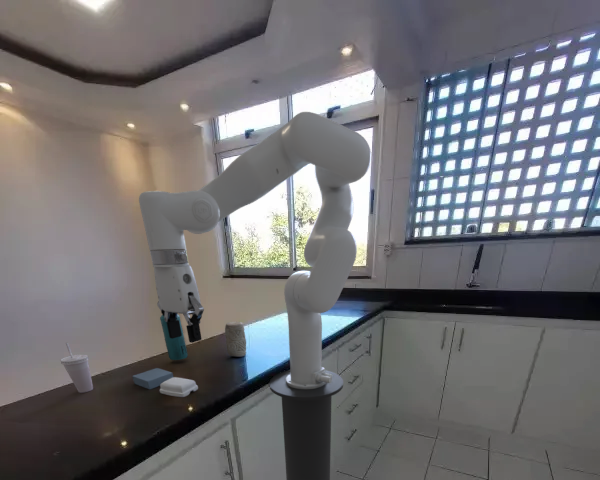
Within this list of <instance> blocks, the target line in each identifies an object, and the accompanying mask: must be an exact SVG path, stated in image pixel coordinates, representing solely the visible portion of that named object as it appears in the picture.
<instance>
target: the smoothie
mask: <svg viewBox="0 0 600 480" xmlns="http://www.w3.org/2000/svg"><path fill="white" fill-rule="evenodd" d="M65 346H66V349H67V351H68V353H69V355H68V356H65V357H62V358H61V359H59V361H60V364H61V365H63V367H64V368H65V370H66V373H67V374H68V376H69V378H70V379H71V382H72V383H73V385H74V387H75V388H76V391H77V393H79V394H80V393H81V394H83V393H89V392H90V391H91V392H92V391H93V390H94V385H93V379H92V374H91V369H90V364H89V356H88V354H84V353H83V354H82V353H80V354H79V353H77V354H73V352H72V349H71V347H70V344H69V342H68V341H67V342H65Z"/></svg>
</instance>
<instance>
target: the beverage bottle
mask: <svg viewBox="0 0 600 480" xmlns="http://www.w3.org/2000/svg"><path fill="white" fill-rule="evenodd" d="M161 314H162V313H161ZM159 320H160V323H161V328H162V332H163V337H164V343H165V347H166V352H167V356H168V358H169V360H171V361H180V360H185V359H186V358H188V349H187V345H186V339H185V335H184V330H183V326H182V321H181V316H180V315H179V313H178V314H177V320H179V323H180V328H181V333H182V336H180V337H176V338H173V339H172V338H170V337H169V332H168V328H167V323H166V322H165V320H164V316H163V314H162V315H160V317H159Z"/></svg>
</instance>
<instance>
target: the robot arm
mask: <svg viewBox="0 0 600 480" xmlns="http://www.w3.org/2000/svg"><path fill="white" fill-rule="evenodd" d="M371 162H372V151H371V147H370V144H369V142H368V141H367V140H366V138H365V137H364V136H363V135H362V134H360V133H359V132H357V131H355V130H354V129H351V128H349V127H347V126H345V125H342V124H341V123H338V122H337V121H334V120H332V119H330V118H328V117H326V116H324V115H321V114H319V113H316V112H311V111H301V112H299V113H296V114H295V115H294V116H293V117H292V118H290V120H289V121H288V122H287V123H286V124H284V125H283V126H281V127H280V128H278V129H277V130H276V131H274V132H273V133H271V134H270V135H268V136H267V137H266V138H264V139H262V140H261V141H259V142H258V143H257V144H255V145H253V146H252V147H250V148H249V149H247V150H246V151H244V152H243V153H241V154H240V155H239V156H238V157H236V158H235V159H234V160H232V162H231V163H230V164H228V166H227V167H226V168H225V169H224V170H223V171H222V172H220V173H219V174H218V175H217V176H216V177H214V178H213V179H212V180H211V181H209V182H208V183H206V184H205V185H204V186H202V187H200V188H199V189H197V190H189V191H188V190H187V191H181V192H180V191H179V192H169V191H163V190H149V191H147V190H146V191H143V192H141V193H140V194H139V197H138V203H139V207H140V208H139V209H140V212H141V218H142V222H143V226H144V232H145V235H146V240H147V245H148V250H149V255H150V259H151V263H152V267H153V273H154V275H153V276H154V282H155V288H156V295H157V299H158V301H157V303H156V306H157V307H158V309H159V311H160V313H161V314H163V316H164V320H165V322H166V323H167V328H168V332H169V337H170V338H172V339H173V338H176V337H180V336H182V333H181V328H180V323H179V320H177V314H178V315H179V314H182V315H183V317H184V319H185V321H186V323H187V325H185V327H186V332H187V337H188V341H189V343H192V344H193V343H196V342H200V341H202V332H201V327H200V324H201V319H202V318H203V313H204V311H205V308H204V307H203V305H202V302H201V297H200V293H199V292H200V291H199V288H198V284H197V280H196V277H195V274H194V270H193V268H192V265H190V263H189V256H188V251H187V244H186V239H185V238H186V237H185V233H184V231H187V232H189V233H191V234H194V235H201V234H206V233H209V232H211V231H213V230H214V229H215V228H216V227H217V225H218V224H219V222H221V221H223V220H224V219H225V218H227V217H229V216H230V215H232V214H233V213H235V212H236V211H238V210H240V209H241V208H243V207H245V206H246V207H247V206H249V205H251V204H252V203H254V202H257V201H258V200H259V199H261V198H263V197H265V196H266V195H267V194H268V193H270V192H272V190H274V189H276V188H277V187H278V186H280V185H281V184H283V183H284V182H285V181H287V180H289V179H290V178H291V177H292V176H294V175H296V174H297V173H299V172H301V170H303V169H305V168H307V167H309V166H310V165H313V166H314V176H315V179H316V183H317V185H318V188H319V192H320V197H321V202H320V203H321V204H320V207H319V211H318V214H317V217H316V219H315V221H314V224H313V226H312V228H311V231H310V233H309V236H308V238H307V239H306V242H305V245H304V249H303V257H304V261H305V263H306V264H307V265H308V266H309V267H311V268H312V270H299V271H296V272H293V273H291V274H290V276H289V277H288V278H287V279H286V281H285V284H284V288H283V289H284V291H283V295H284V303H285V308H286V313H287V323H288V325H287V327H288V345H289V346H288V350H289V370H290V375H288V376H287V377H286V384H287V385H288V386H290V387H292V388H296V389H315V388H319V387H321V386H323V385H325V384H326V383H331V382H332V374H326V373H325V370H326V368H325V367H324V366H322V365H323V363H322V362H323V359H322V356H323V355H322V354H323V352H322V351H323V348H322V347H323V335H322V334H323V320H322V314H324V313H327V312H328V311H330V310H331V309H332V308H333V307H334V306H335V304H336V303H337V301H338V300H339V297H340V296H341V293H342V291H343V289H344V288H345V285H346V282H347V280H348V278H349V276H350V274H351V272H352V270H353V267H354V265H355V261H356V258H357V252H358V251H357V250H358V247H357V246H358V245H357V241H356V238H355V236H354V235H353V233H352V232H351V231H349V227H350V224H351V221H352V219H353V215H354V208H355V207H354V198H353V194H352V190H351V186H350V184H353V183H356V182H357V181H360V180H361V179H362V178H363V177H364V176H365V175H366V174H367V173H368V171H369V168H370V166H371Z"/></svg>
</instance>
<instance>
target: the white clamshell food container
mask: <svg viewBox="0 0 600 480" xmlns="http://www.w3.org/2000/svg"><path fill="white" fill-rule="evenodd" d="M159 387H160V388H159V393H160V394H163V395H167V396H171V397H176V398H177V397H178V398H185V397H187V396H189V395H190V394H191V392H196V391H198V390H199V385H197V383H196V380H193V379H190V378H189V379H188V378H184V377H177V376H173V378H171V379H169V380H167V381H165V382H163V383H161V385H160V386H159Z"/></svg>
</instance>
